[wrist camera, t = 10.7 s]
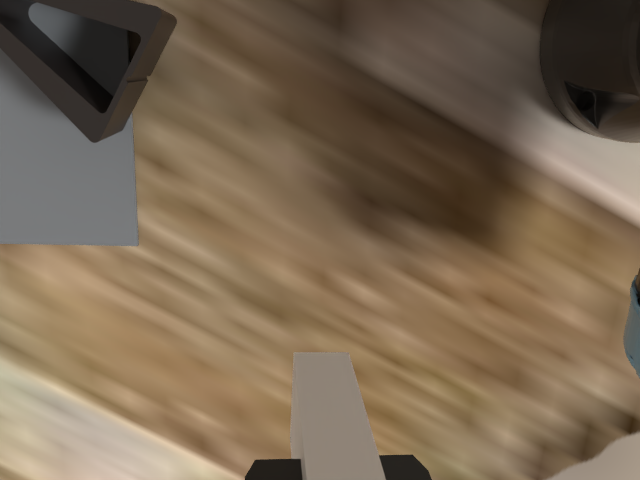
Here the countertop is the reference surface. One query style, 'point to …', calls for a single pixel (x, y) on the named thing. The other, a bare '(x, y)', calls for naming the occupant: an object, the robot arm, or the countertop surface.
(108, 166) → the mat
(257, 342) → the countertop surface
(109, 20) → the phone stand
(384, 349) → the countertop surface
